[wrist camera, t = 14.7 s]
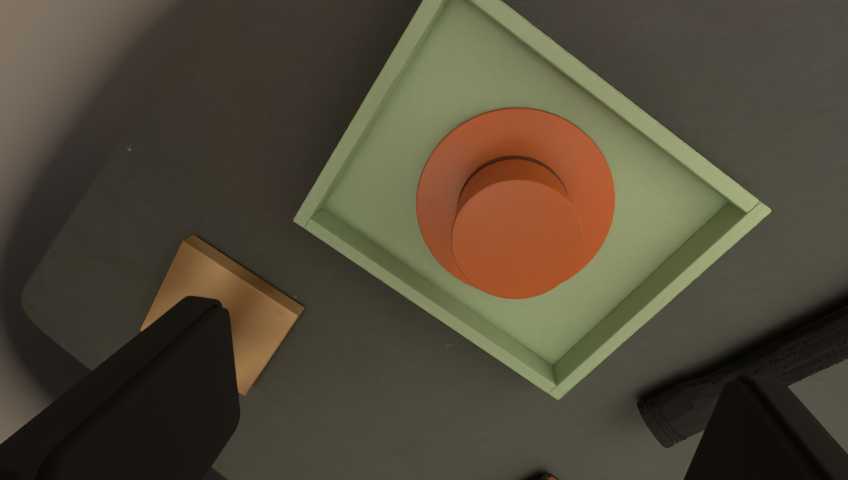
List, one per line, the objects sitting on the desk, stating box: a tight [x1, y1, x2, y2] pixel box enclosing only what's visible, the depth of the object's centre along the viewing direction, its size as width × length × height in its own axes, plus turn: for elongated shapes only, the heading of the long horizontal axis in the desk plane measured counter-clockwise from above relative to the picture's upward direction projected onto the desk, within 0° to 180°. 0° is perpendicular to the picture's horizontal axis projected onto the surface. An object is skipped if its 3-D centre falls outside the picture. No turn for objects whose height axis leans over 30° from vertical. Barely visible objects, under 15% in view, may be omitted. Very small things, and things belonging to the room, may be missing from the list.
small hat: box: [416, 107, 615, 299], centre depth 23 cm, size 11×11×6 cm
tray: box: [293, 0, 771, 400], centre depth 25 cm, size 20×16×3 cm
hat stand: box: [140, 235, 304, 396], centre depth 28 cm, size 9×9×11 cm
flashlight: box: [637, 304, 848, 448], centre depth 26 cm, size 3×16×3 cm, turn 132°
